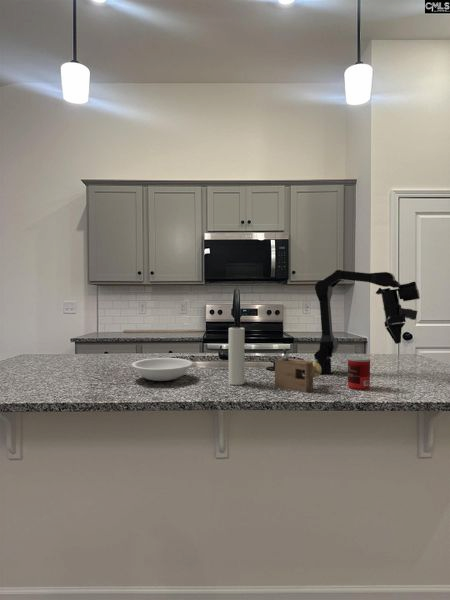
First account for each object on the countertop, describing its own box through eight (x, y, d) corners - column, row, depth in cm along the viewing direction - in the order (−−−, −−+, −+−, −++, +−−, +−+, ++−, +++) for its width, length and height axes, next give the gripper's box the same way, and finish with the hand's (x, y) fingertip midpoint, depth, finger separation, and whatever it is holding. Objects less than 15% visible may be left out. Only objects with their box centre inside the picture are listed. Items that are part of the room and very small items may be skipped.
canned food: (369, 386, 144) (369, 356, 144) (370, 391, 137) (370, 360, 136) (347, 384, 147) (348, 355, 146) (347, 389, 139) (347, 359, 139)
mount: (283, 383, 148) (283, 357, 147) (314, 388, 140) (314, 361, 140) (274, 387, 142) (275, 360, 142) (305, 392, 135) (306, 364, 134)
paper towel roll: (239, 386, 143) (239, 328, 142) (225, 384, 146) (225, 327, 146) (248, 382, 149) (248, 327, 149) (235, 380, 152) (235, 326, 152)
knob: (307, 375, 148) (307, 360, 148) (321, 377, 144) (321, 362, 144) (298, 378, 142) (299, 363, 142) (313, 380, 138) (313, 365, 138)
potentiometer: (280, 359, 142) (280, 348, 142) (286, 359, 143) (286, 348, 143) (283, 360, 140) (283, 349, 140) (289, 360, 141) (289, 349, 141)
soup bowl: (205, 379, 154) (205, 362, 154) (156, 390, 137) (156, 372, 136) (167, 370, 171) (167, 355, 170) (119, 379, 153) (119, 363, 153)
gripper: (416, 297, 140) (424, 339, 138) (410, 303, 158) (417, 341, 155) (383, 301, 144) (391, 343, 141) (381, 307, 161) (388, 344, 159)
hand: (398, 343), depth 149 cm, fingers open, 9 cm apart
